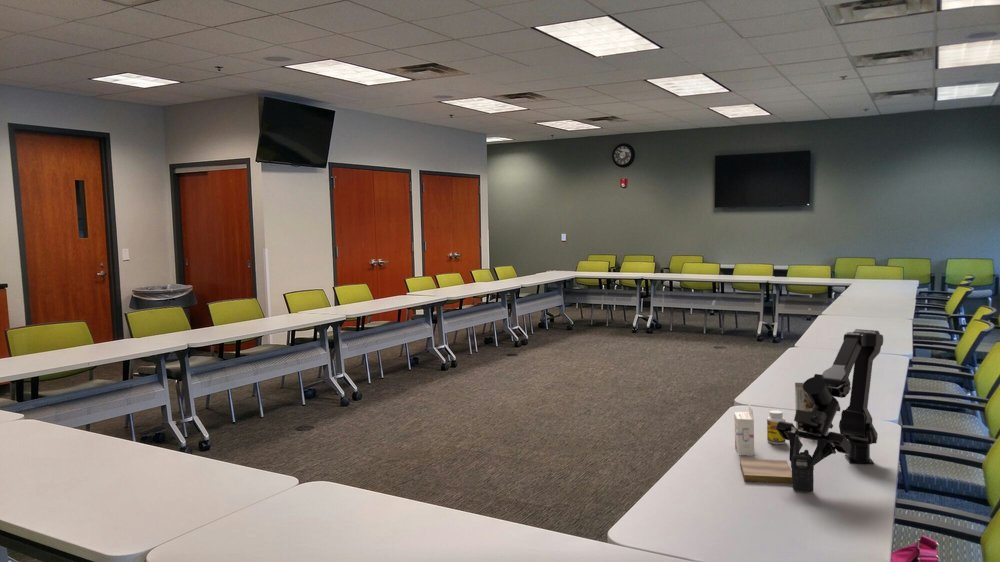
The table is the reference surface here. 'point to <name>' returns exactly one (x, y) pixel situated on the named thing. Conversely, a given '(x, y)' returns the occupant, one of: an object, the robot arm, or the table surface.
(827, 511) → the table surface
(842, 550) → the table surface
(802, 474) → the two-way radio
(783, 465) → the tan flat wooden block
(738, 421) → the ink cartridge box
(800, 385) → the coffee box
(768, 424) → the supplement bottle
